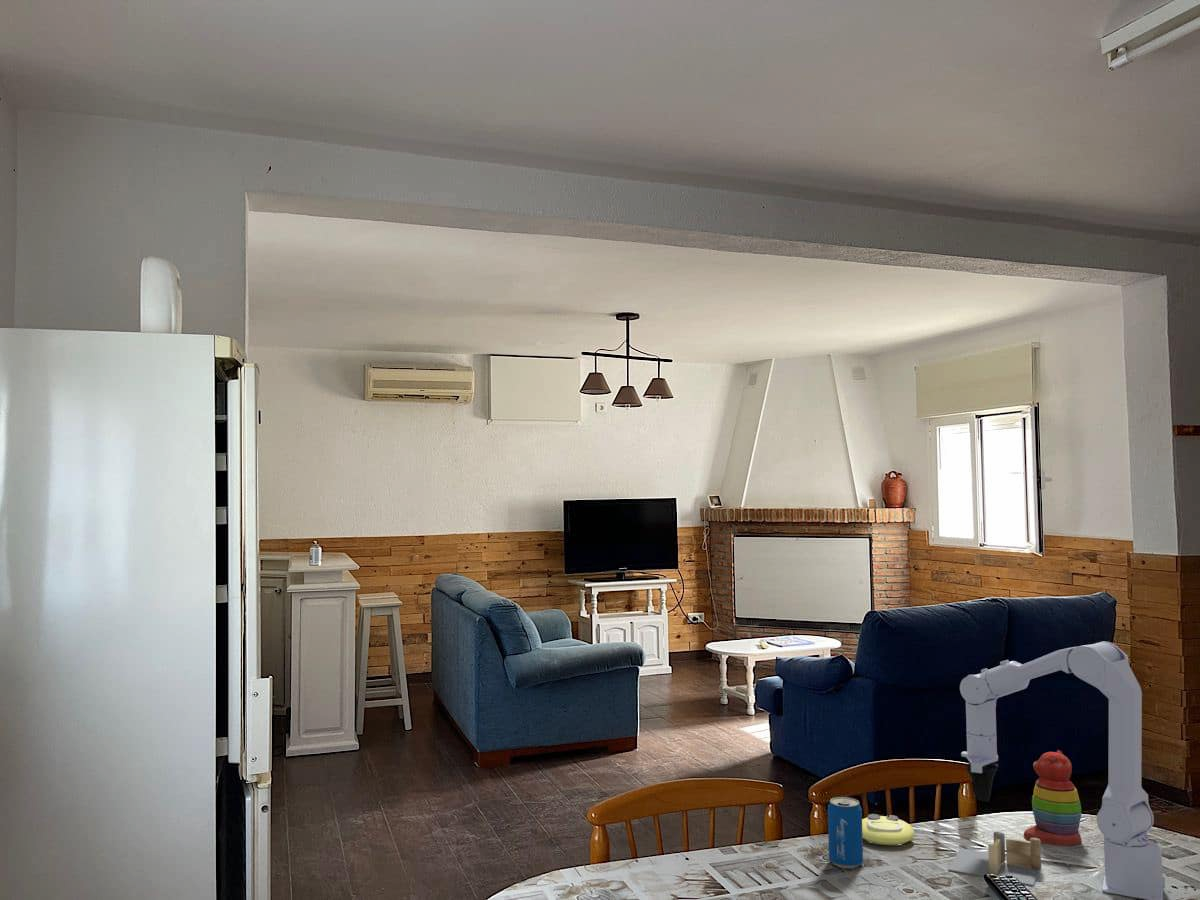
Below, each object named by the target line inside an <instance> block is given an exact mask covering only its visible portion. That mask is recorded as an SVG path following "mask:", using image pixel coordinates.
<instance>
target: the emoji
mask: <svg viewBox="0 0 1200 900" xmlns="http://www.w3.org/2000/svg"><path fill="white" fill-rule="evenodd" d="M915 833H916V832H915V830H914V828H913V826H911V824H909V823H907V822H906V821H904V820H902V819H899V817H898V816H897V815H893V814H889V817H888V815H886V816H884V815H880V814H877V813H871V814H870V813H869V814H868V815H867V817H865V818H862V840H863V839H864V840H865V841H867V842H868V841H869V842H872V843H876V844H875V845H883V846H898V844H903V845H904V844H905V843H908V842H909V841H911V840H913V838H914V836H915Z"/></svg>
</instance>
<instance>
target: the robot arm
mask: <svg viewBox="0 0 1200 900" xmlns="http://www.w3.org/2000/svg"><path fill="white" fill-rule="evenodd" d="M1058 671H1062V672H1064V673H1066V674H1072V673H1073V675H1074V676H1076V677H1077V678H1078V679H1080V680H1081V681H1084V682H1086V683H1087V684H1089V685H1091V686H1093V687H1094V688H1096V689H1098V690H1099V691H1100V692H1101V693H1102V694H1103V695H1104V696H1105V697H1106V698H1107V699H1108V764H1107V765H1108V766H1107V767H1108V775H1107V776H1108V777H1107V778H1108V783H1107V787H1106V789H1105V791H1104V794H1103V795H1102V797H1101V799H1102V800H1101V801H1102V802H1101V807H1100V810H1099V811H1098V813H1097V814H1096V824H1097V827H1098V829H1099V831H1100V833H1101V834H1102V835H1103V846H1104V847H1103V849H1104V875H1103V881H1102V885H1101V886H1102V887H1101V891H1102V892H1103V893H1108V894H1113V895H1119V896H1125V897H1130V898H1137V899H1143V900H1164V889H1165V888H1166V880H1165V879H1166V878H1165V877H1164V876H1163V856H1162V855H1163V853H1162V845H1161V844H1159V843H1155V842H1151V841H1150V840H1149V839H1150V838H1149V835H1148V831H1150V829H1152V827H1153V825H1154V823H1155V822H1154V821H1155V817H1154V813H1153V811H1152V809H1151V807H1150V804H1149V794H1148V793H1147V791H1145V789H1143V787H1142V758H1143V757H1142V753H1143V752H1142V741H1143V740H1142V724H1143V723H1142V721H1143V720H1142V718H1143V717H1142V716H1143V715H1142V712H1143V709H1142V708H1143V706H1142V705H1143V702H1142V701H1143V700H1142V699H1143V692H1142V688H1141V685H1140V683H1139V681H1138V680H1137V678H1136V676H1135V674H1134V672H1133V670H1132V668H1131V666H1130V663H1129V655H1128V654H1126V653H1125V652H1124V651H1123V650H1121V648H1119V647H1118V646H1117V645H1116V644H1114V643H1112V642H1110V641H1099V642H1095V643H1092V644H1085V645H1080V646H1079V645H1078V646H1073V647H1067V648H1063V649H1058V650H1055V651H1053V652H1050V653H1048V654H1046V655H1045V654H1044V655H1043V656H1041V657H1038V658H1036V659H1034V660H1031V661H1028V662H1025V663H1023V664H1022V663H1020V662H1018V661H1016V660H1011V661H1010V660H1009V659H1006V660H1002V661H1000V662H999V665H998V666H995V667H993V668H990V669H988V668H987V667H986V668H983V669H981V670H980V673H977V674H968V675H967V676H965V677H963V678H962V679H961V681H960V684H959V691H960V695H961V697H962V698H963V699H964V700H965V715H966V716H965V719H966V721H965V722H966V723H965V724H966V751H962V752H960V756H961V757H963V758H966V759H967V760H968V762H969V763H967V764H966V771H967V773H968V774H969V776H970V778H971V781H972V783H973V784H972V785H973V789H974V792H975V796H976V799H977V801H981V802H990V798H991V794H992V787H993V782H994V781H993V780H994V778H995V775H996V772H997V770H998V769H999V764H998V763H995V762H998V761H999V755H998V747H997V745H998V744H997V714H996V713H997V710H996V708H997V700H998V699H999V698H1001V697H1004V696H1008V695H1011V694H1013V693H1016V692H1019V691H1023V690H1025V689H1028V688H1027V687H1028V686H1029V684H1030V681H1031V680H1032V679H1036V678H1038V677H1042V676H1045V675H1049V674H1052V673H1055V672H1058Z"/></svg>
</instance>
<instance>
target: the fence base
mask: <svg viewBox="0 0 1200 900" xmlns="http://www.w3.org/2000/svg"><path fill="white" fill-rule="evenodd" d="M1041 845H1042V843H1040V839H1038V838H1030V840H1029V841H1028V840H1022V839H1016V838H1010V837H1005V856H1006V858H1007V864H1012V865H1018V866H1024V867H1029V868H1032V869H1035V870H1039V871H1040V870H1041V869H1042V854H1041V853H1042V852H1041V851H1042V850H1041V849H1042V847H1041Z"/></svg>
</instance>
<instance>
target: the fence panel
mask: <svg viewBox="0 0 1200 900" xmlns="http://www.w3.org/2000/svg"><path fill="white" fill-rule="evenodd" d="M992 836H993V843H989V844H987V848H988V852H987V853H988V854H989V873H991V874H998V867H999V865H1000V863H1001V862H1004V861H1005V856H1006V837H1005V833H1004V832H1001V831H994V832H993V835H992Z"/></svg>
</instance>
